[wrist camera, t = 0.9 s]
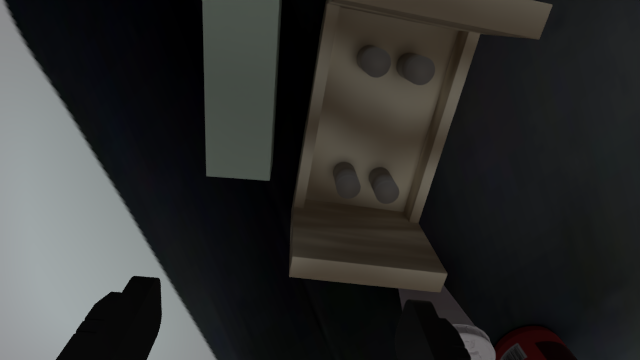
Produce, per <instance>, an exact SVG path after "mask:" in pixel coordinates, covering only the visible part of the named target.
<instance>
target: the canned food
mask: <svg viewBox="0 0 640 360" xmlns="http://www.w3.org/2000/svg"><path fill="white" fill-rule="evenodd" d="M494 350H495V355H496V359H495V360H577V359H576V357H575V356H574V355H573V354H572V353H571V351H570V350H569V349H568V348H567V346H566V345H565V344H564V343H563V342H562V340H561V339H560V338H559V337H558V336H557V335H556V334H554V333H553V332H552V331H550V330H548V329H547V328H544V327H541V326H526V327H521V328H518V329H516V330H514V331H512V332H510V333H508V334H507V335H505V336H504V337H503V338H502V339H501V340H500V341H499V342H498V343H497V345H496V346H495V348H494Z"/></svg>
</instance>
